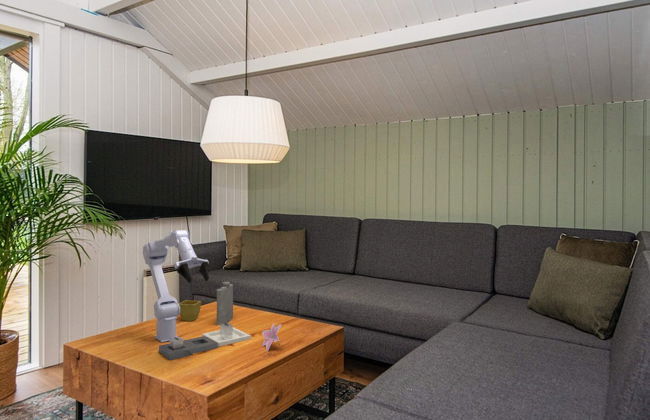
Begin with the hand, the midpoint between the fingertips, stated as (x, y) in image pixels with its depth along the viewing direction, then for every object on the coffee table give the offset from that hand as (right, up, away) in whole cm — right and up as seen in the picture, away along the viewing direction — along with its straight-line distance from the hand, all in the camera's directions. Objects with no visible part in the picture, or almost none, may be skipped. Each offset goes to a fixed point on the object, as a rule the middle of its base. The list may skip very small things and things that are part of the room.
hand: (199, 280), depth 178 cm
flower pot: (-19, -28, +51) cm, 61 cm away
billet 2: (+6, -29, +21) cm, 36 cm away
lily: (+27, -30, +12) cm, 42 cm away
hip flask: (0, -29, +49) cm, 56 cm away
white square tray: (+6, -29, +21) cm, 37 cm away
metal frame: (-6, -30, +7) cm, 31 cm away
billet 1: (-10, -30, +3) cm, 32 cm away
